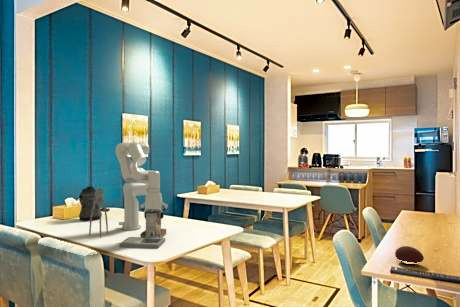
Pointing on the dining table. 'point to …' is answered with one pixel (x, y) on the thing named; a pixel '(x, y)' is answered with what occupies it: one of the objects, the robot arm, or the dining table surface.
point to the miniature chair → (99, 200)
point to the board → (142, 242)
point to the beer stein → (88, 205)
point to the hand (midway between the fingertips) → (154, 218)
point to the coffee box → (153, 223)
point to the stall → (160, 235)
